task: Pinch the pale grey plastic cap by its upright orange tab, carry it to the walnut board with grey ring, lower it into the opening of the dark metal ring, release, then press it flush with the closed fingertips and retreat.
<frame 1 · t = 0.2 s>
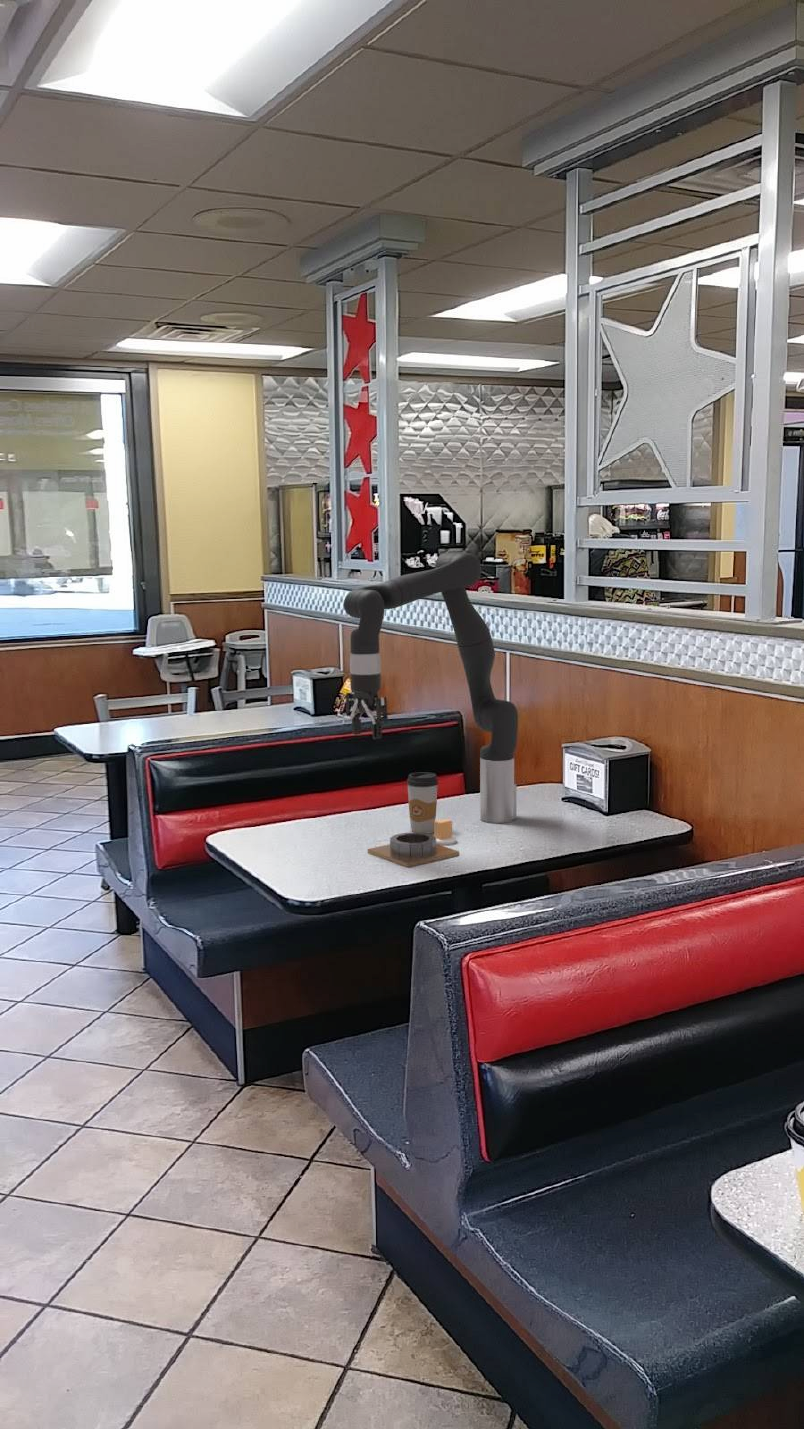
hand: (366, 736, 276), 28 cm above the table, fingers open, 8 cm apart
board with grey ring: (413, 854, 274), on the table
coffee cup: (422, 831, 297), on the table
cap: (443, 842, 285), on the table
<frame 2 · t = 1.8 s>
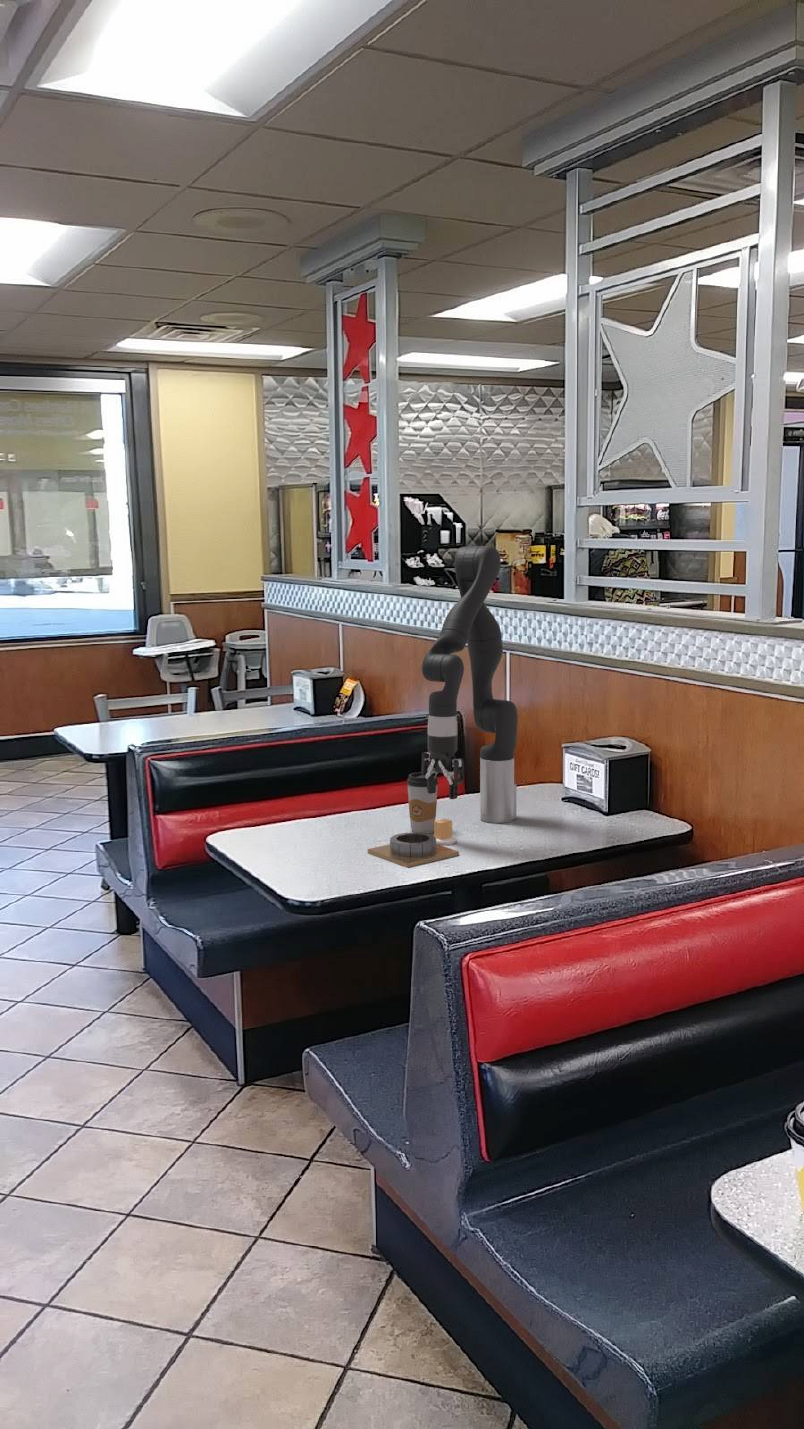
hand: (442, 795, 283), 12 cm above the table, fingers open, 8 cm apart
nothing on the table moved.
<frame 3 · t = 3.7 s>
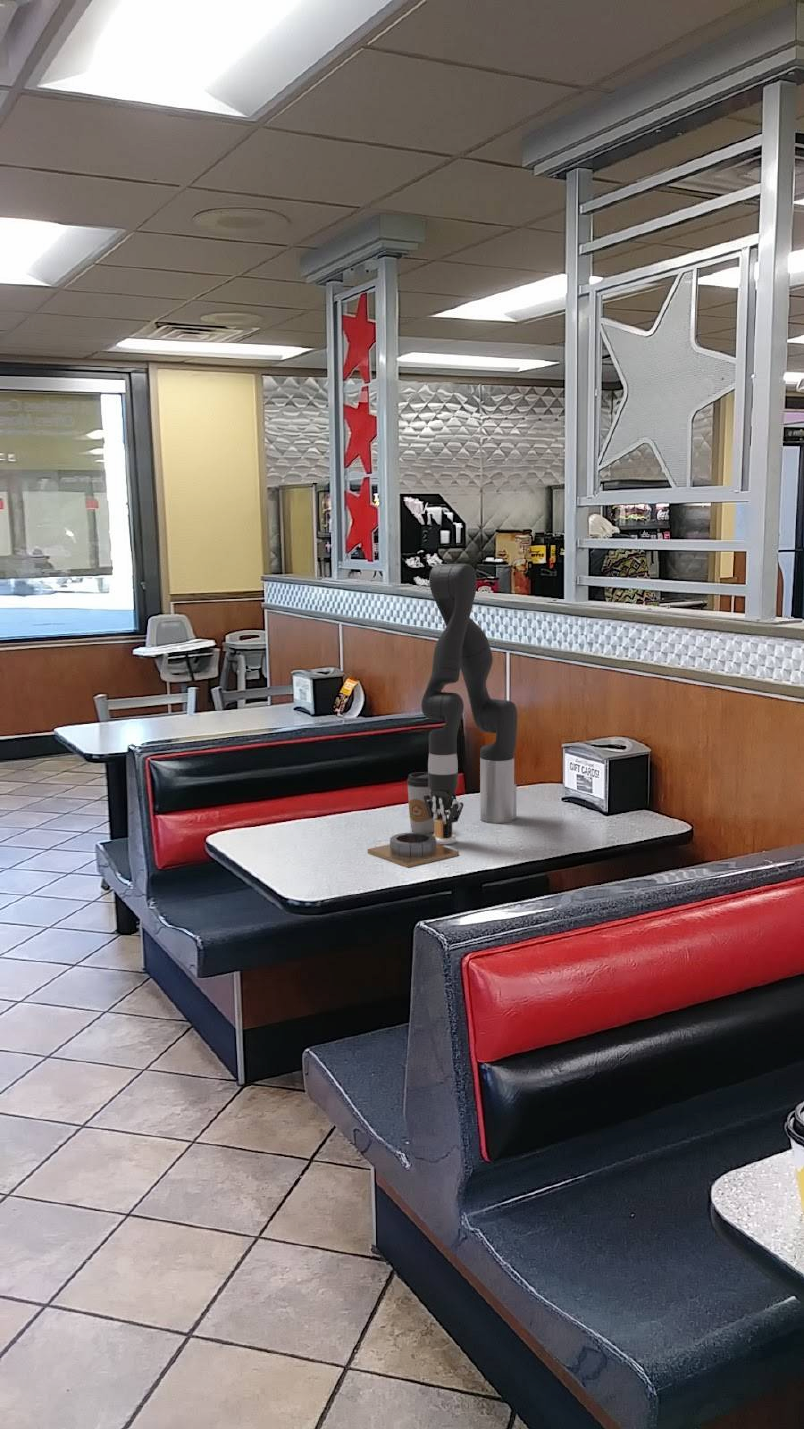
hand: (443, 836, 285), 1 cm above the table, fingers closed on cap, 2 cm apart
cap: (443, 841, 285), on the table, touching gripper
everything else where it was.
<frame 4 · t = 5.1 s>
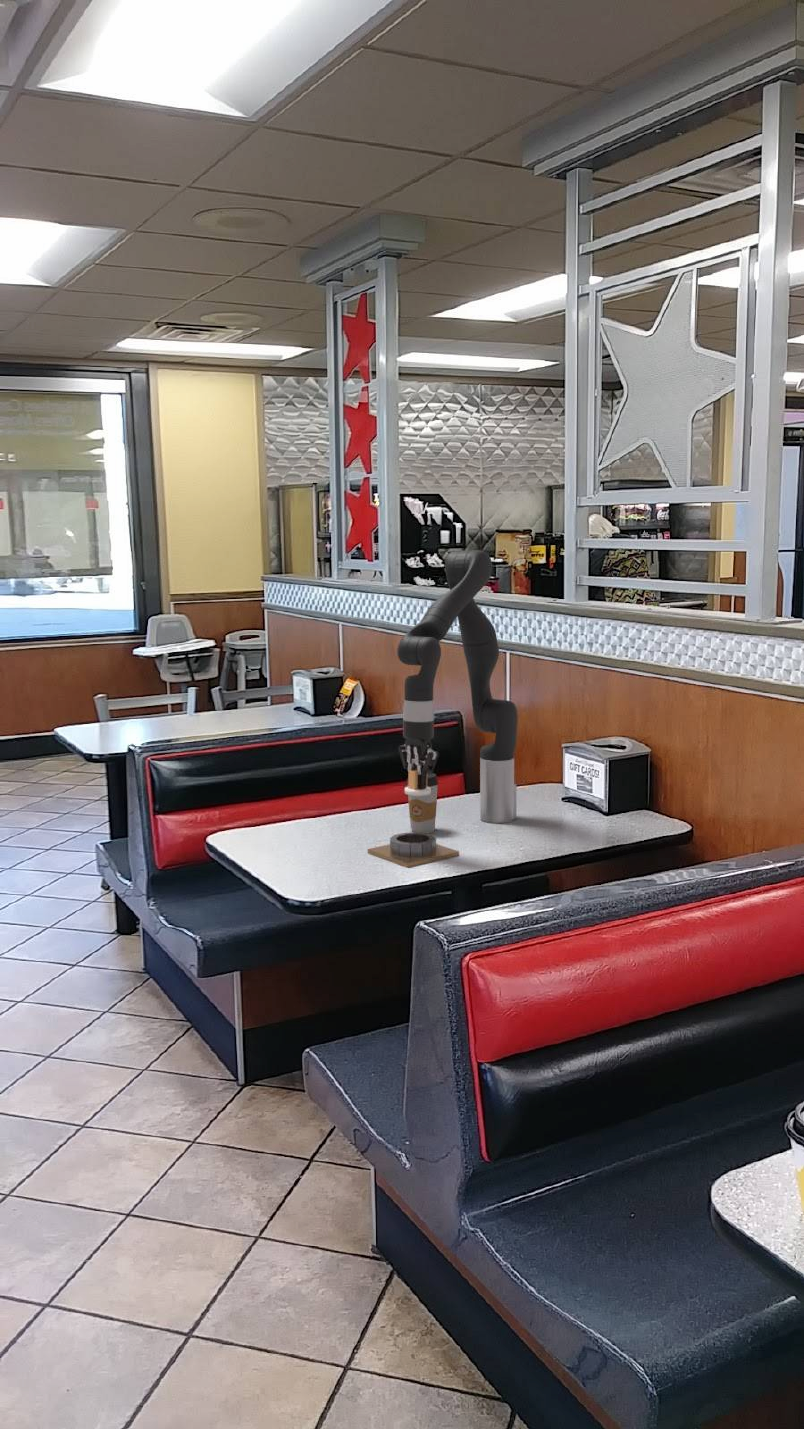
hand: (417, 787, 274), 16 cm above the table, fingers closed on cap, 2 cm apart
cap: (417, 793, 274), point 15 cm above the table, touching gripper
everything else where it was.
when the fingers open (4 cm above the table, at t = 7.0 s): cap drops 2 cm, resting on board with grey ring.
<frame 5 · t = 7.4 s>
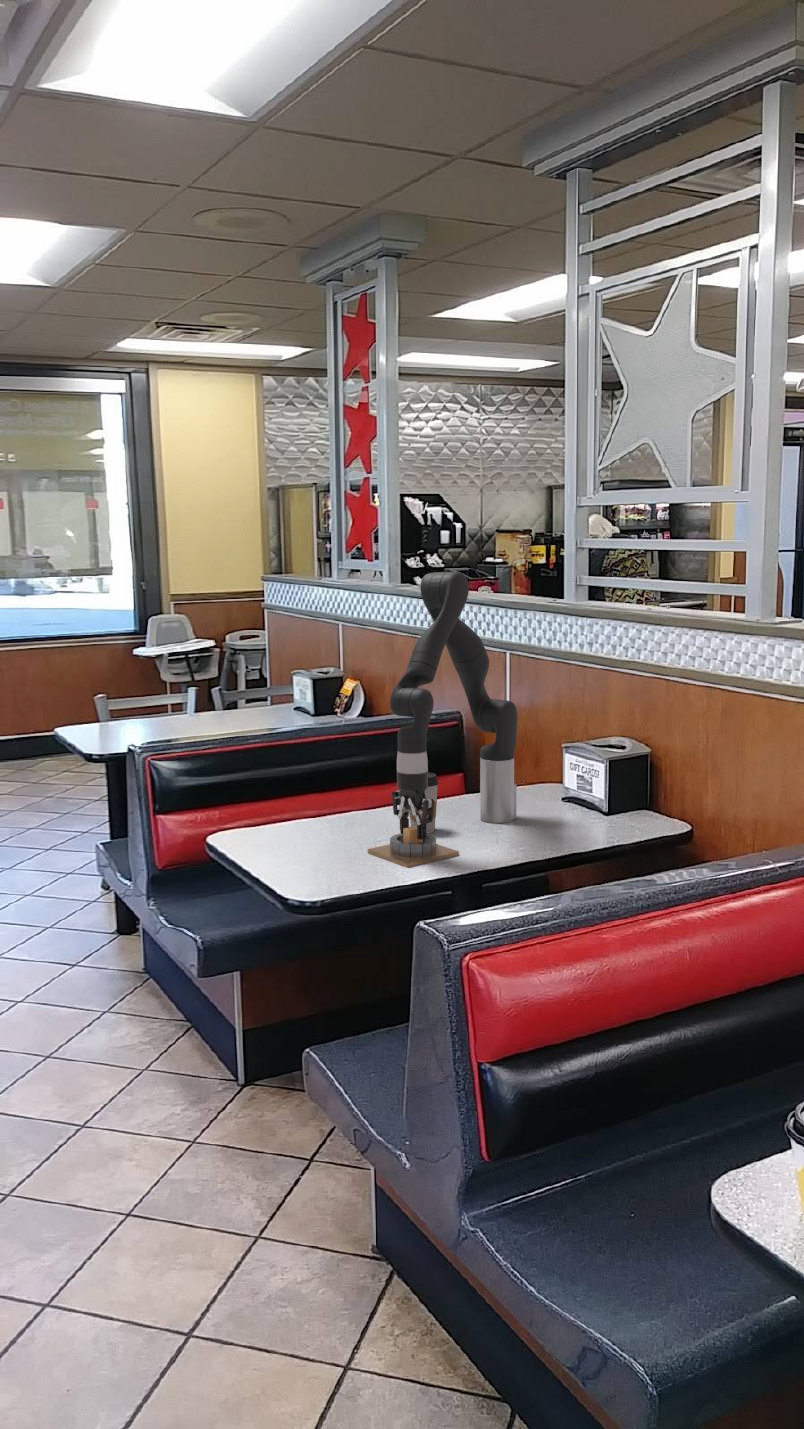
hand: (412, 836, 274), 5 cm above the table, fingers open, 6 cm apart
cap: (412, 850, 274), point 1 cm above the table, touching board with grey ring
everything else where it was.
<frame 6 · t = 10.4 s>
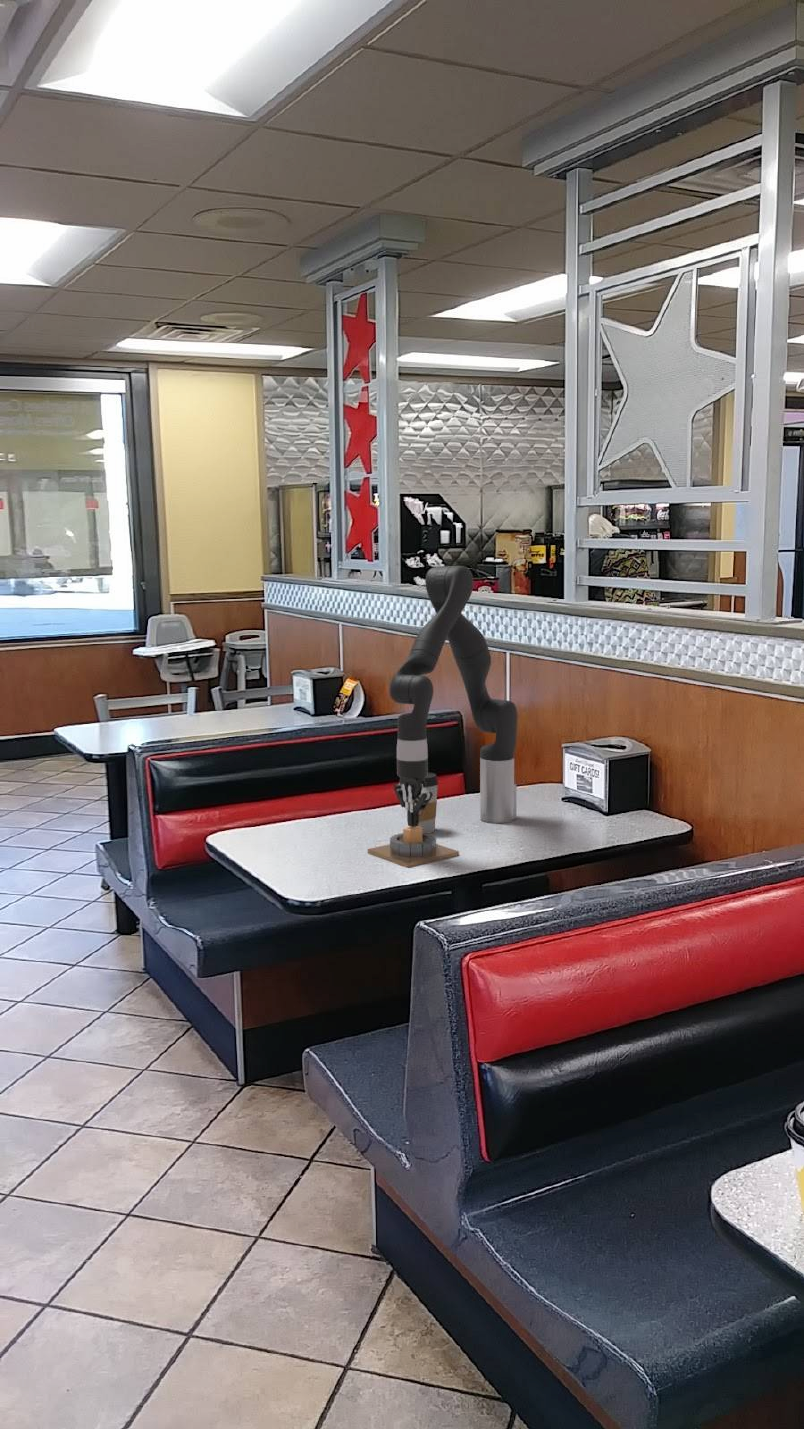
hand: (413, 826, 273), 7 cm above the table, fingers closed
nothing on the table moved.
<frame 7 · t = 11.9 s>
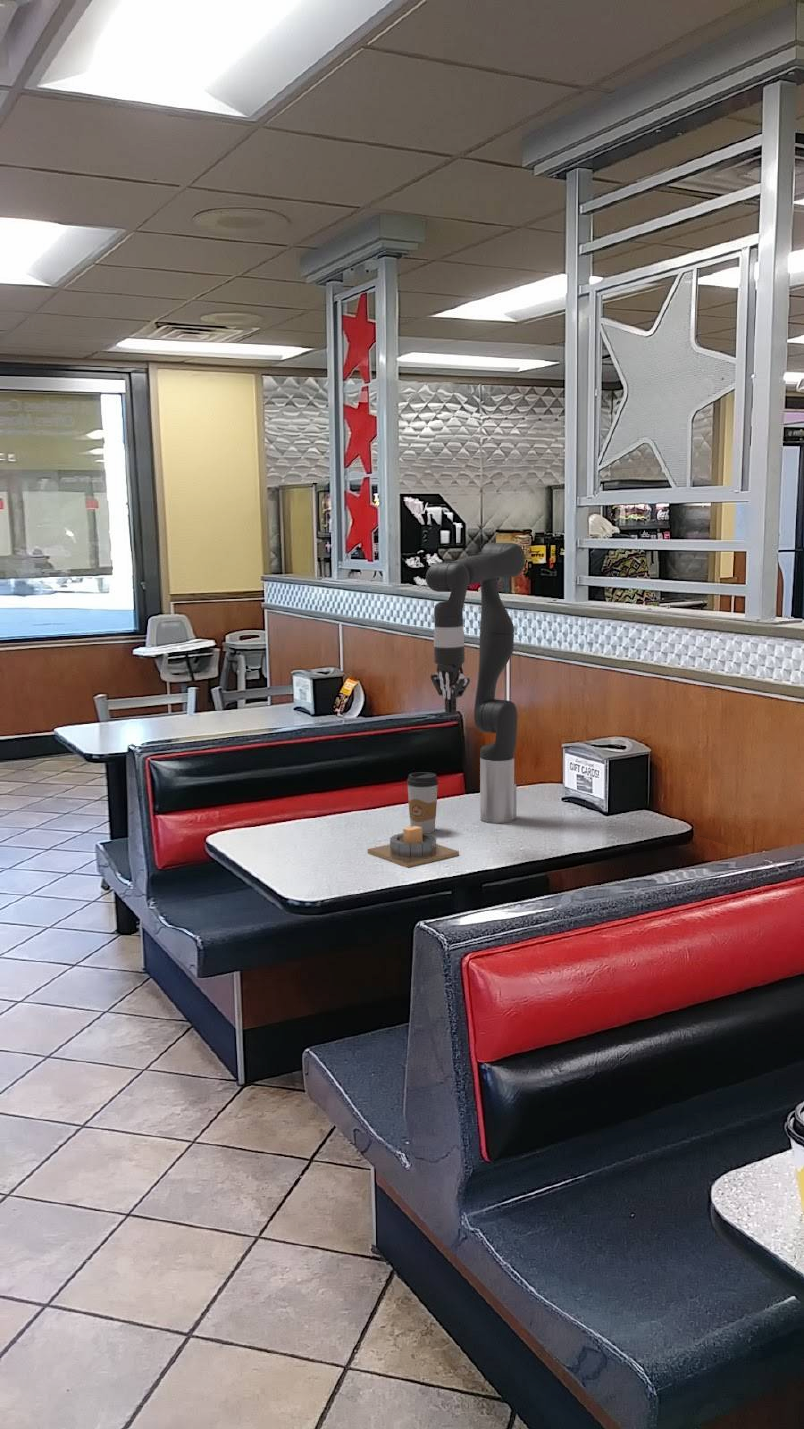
hand: (450, 713, 279), 33 cm above the table, fingers closed
nothing on the table moved.
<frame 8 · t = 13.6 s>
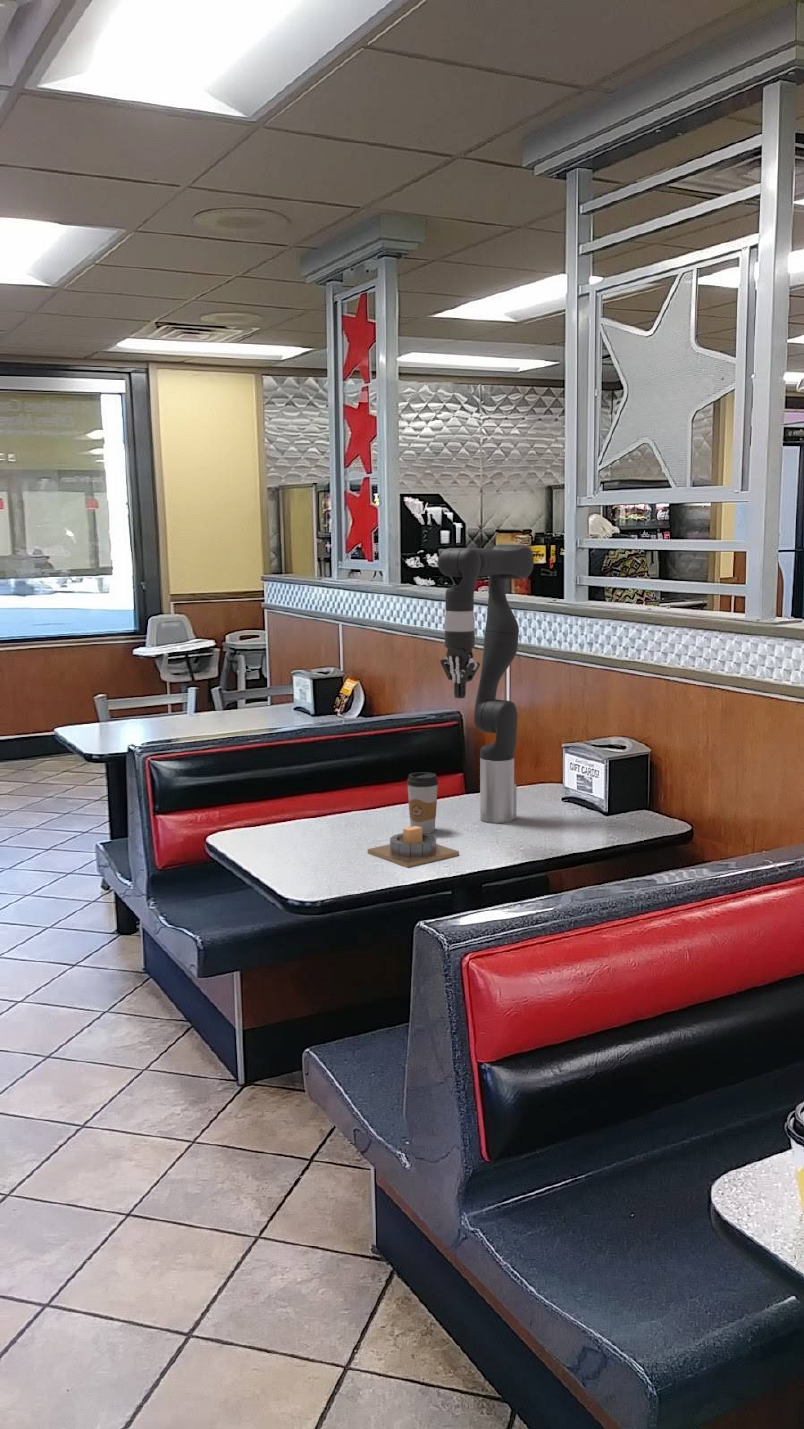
hand: (459, 697, 280), 37 cm above the table, fingers closed
nothing on the table moved.
at the end: cap 0.1 cm off-centre on the board with grey ring, point 1.0 cm above the board with grey ring's base; cap tilted 0°; the gripper is holding nothing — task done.
